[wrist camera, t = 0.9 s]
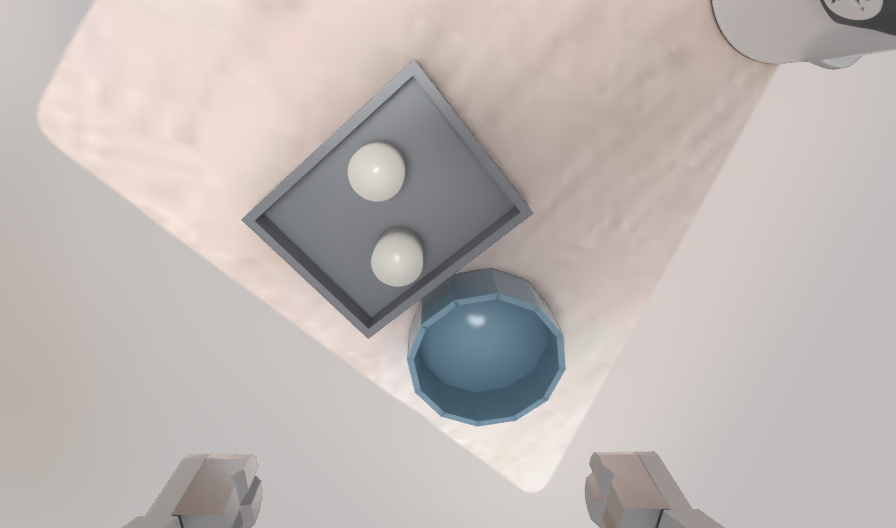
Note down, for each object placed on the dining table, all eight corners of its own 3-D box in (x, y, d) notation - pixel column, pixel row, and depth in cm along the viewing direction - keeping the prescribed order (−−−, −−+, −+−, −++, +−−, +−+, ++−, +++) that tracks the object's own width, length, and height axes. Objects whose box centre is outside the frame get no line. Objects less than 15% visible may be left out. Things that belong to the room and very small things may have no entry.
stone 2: (401, 217, 41) (399, 228, 38) (433, 252, 42) (433, 266, 39) (365, 246, 42) (360, 260, 39) (397, 280, 43) (395, 296, 40)
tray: (415, 60, 36) (414, 59, 34) (526, 204, 42) (533, 213, 39) (254, 210, 41) (241, 219, 38) (372, 323, 46) (368, 338, 43)
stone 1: (382, 128, 38) (377, 133, 35) (417, 169, 39) (415, 177, 36) (343, 163, 39) (335, 170, 36) (379, 201, 40) (374, 212, 37)
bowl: (495, 242, 43) (503, 263, 38) (576, 340, 48) (593, 371, 43) (383, 326, 46) (377, 357, 41) (470, 410, 51) (474, 447, 46)
